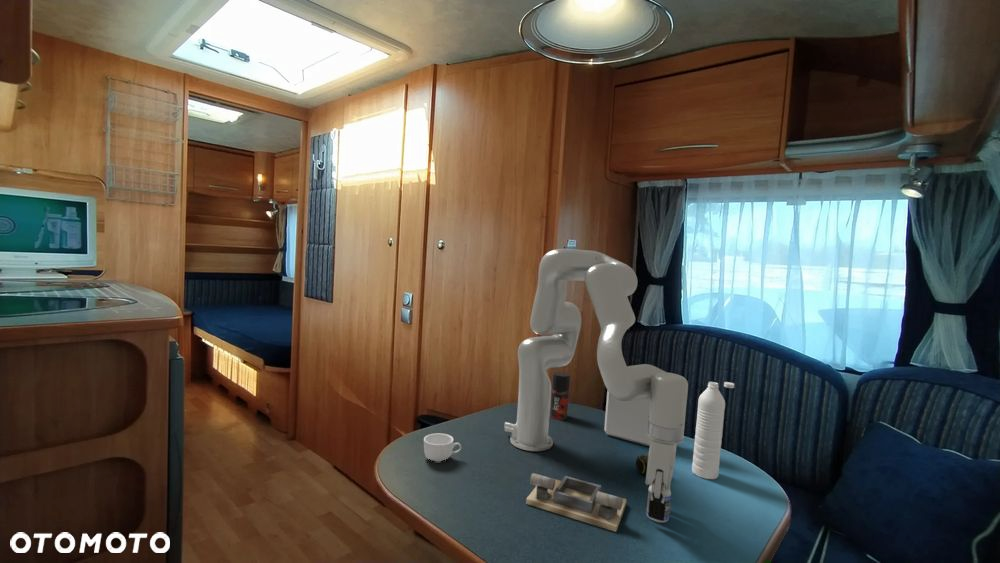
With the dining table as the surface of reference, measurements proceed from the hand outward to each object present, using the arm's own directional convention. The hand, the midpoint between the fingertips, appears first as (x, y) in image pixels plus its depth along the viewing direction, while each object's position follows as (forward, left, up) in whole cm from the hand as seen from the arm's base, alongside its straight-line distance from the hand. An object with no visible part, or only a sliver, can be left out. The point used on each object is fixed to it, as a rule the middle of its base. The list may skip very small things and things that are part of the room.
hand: (658, 508), depth 101 cm
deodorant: (-38, +47, -2) cm, 60 cm away
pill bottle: (0, 0, -2) cm, 2 cm away
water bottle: (+10, +29, -2) cm, 31 cm away
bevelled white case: (-10, +42, -2) cm, 43 cm away
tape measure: (-4, +22, -2) cm, 22 cm away
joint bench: (-17, -4, -2) cm, 18 cm away
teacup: (-55, -2, -2) cm, 55 cm away
